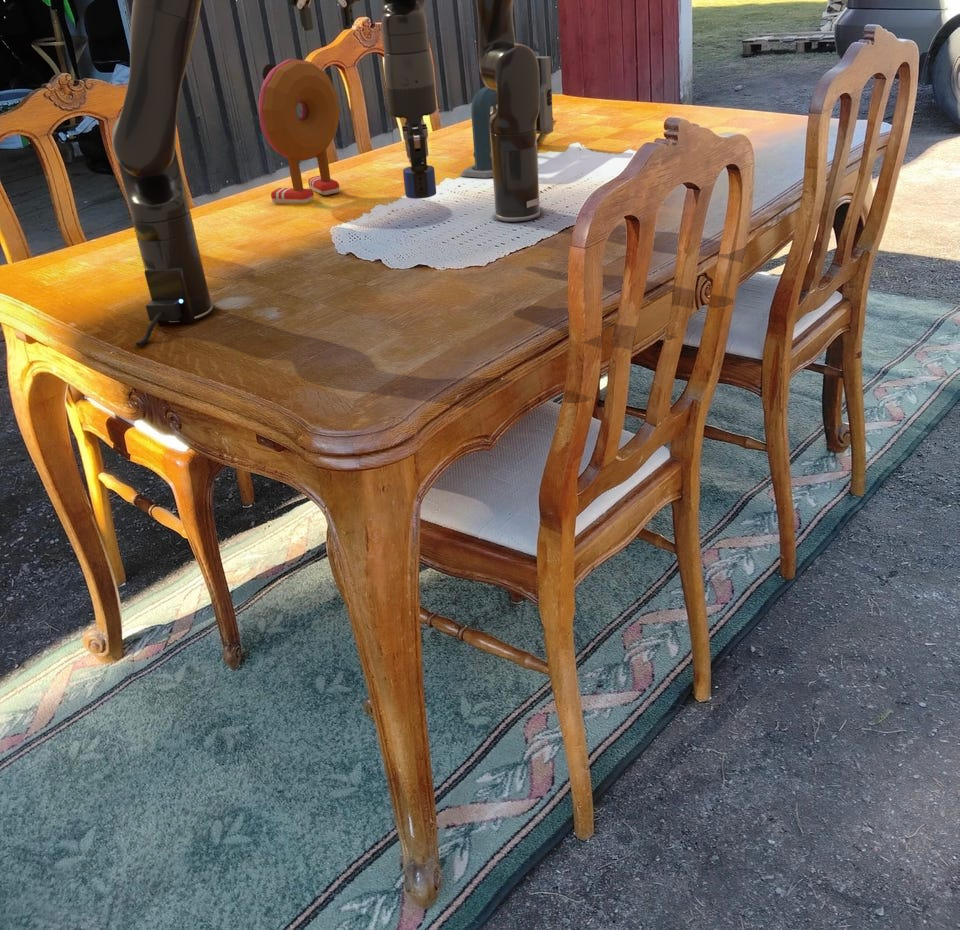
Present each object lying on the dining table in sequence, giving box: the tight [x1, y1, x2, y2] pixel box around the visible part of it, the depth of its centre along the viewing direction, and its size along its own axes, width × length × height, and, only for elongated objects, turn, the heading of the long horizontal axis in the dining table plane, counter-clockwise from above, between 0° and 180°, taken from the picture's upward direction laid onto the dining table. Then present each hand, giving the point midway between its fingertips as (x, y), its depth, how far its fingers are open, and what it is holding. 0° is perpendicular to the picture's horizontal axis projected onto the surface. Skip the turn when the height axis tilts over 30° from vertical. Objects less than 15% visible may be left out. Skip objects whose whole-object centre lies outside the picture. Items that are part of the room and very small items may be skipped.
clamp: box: [460, 55, 554, 179], centre depth 237 cm, size 35×9×21 cm, turn 151°
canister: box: [402, 164, 437, 200], centre depth 158 cm, size 5×5×4 cm
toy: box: [257, 58, 341, 205], centre depth 218 cm, size 21×10×30 cm, turn 141°
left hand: (420, 191), depth 159 cm, fingers closed on canister, 5 cm apart
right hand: (328, 29), depth 182 cm, fingers open, 8 cm apart
